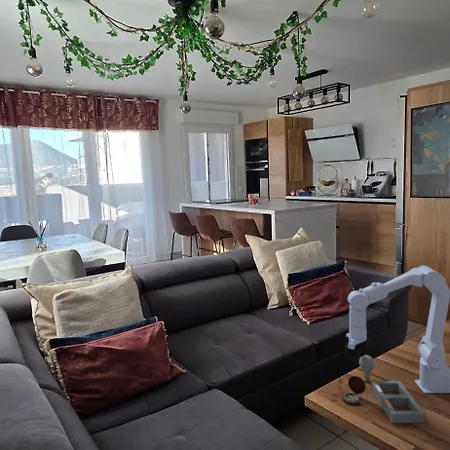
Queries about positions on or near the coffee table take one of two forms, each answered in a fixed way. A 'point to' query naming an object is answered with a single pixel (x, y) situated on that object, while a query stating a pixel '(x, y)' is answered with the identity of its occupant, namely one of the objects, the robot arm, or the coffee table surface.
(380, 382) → the socket block
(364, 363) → the light bulb
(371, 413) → the coffee table surface
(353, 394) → the compass
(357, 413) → the coffee table surface
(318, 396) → the coffee table surface
